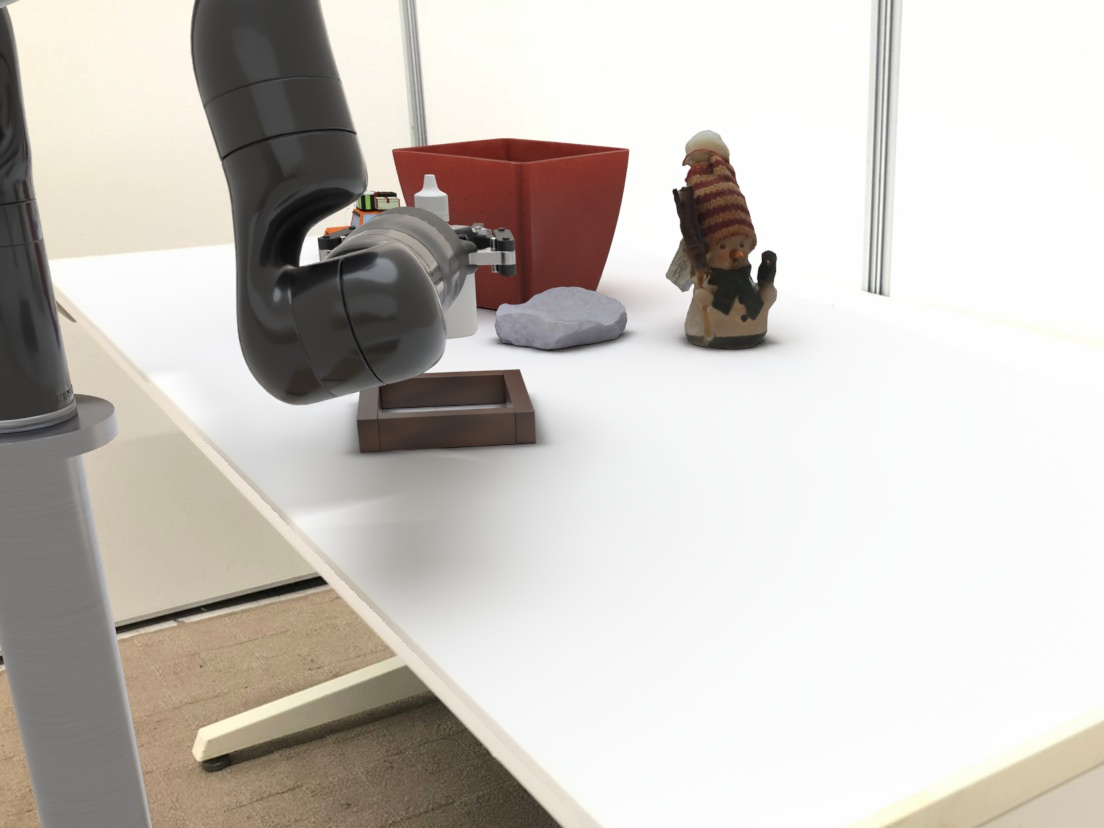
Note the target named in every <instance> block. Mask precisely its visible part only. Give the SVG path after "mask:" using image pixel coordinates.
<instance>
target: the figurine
mask: <svg viewBox="0 0 1104 828" xmlns="http://www.w3.org/2000/svg"><path fill="white" fill-rule="evenodd" d="M684 146H685V148H684V150H685V157H684V158H683V160H682V163H681V167H686V166H688V167H690V168H689V169H688V171H687V173H686V177H685V178H684V180H683V181H684V182H685V185H684V186H681V188H680V189H678V188H677V187H675V188H673V189H672V191H671V192H672V196H673V201H674V203H675V209H676V214H677V217H678V219H679V229H680V233H681V235H682V237H681V240H680V241H679V244H678V248H677V250H676V252H675V254H674V256H673V257H672V260H671V263H670V264H669V267H668V269H667V271H666V273H665V279H666V280H669V282H671V283H672V284H673V285H674V286H676V287H677V288H678V289H679V291H681V293H685V292H689V291H690V288H692V286H693V288H692V289H693V290H692V298H691V301H690V303H689V307H688V309H687V312H686V316H685V322H684V334H685V336H686V338H687V340H688V342H689V343H690V344H692V345H696V346H700V347H706V348H713V349H714V348H715V349H717V348H718V349H727V350H739V349H748V348H751V347H755V346H756V345H758V344H761V342H763V340H764V338H765V336H766V334H767V333H768V322H769V320H768V318H769V312H770V309H771V307H773V306H774V304H775V303H776V302H777V299H778V298H777V297H778V289H777V288H776V286H775V285H774V284H775V278H776V276H777V275H776V274H777V261H778V256H777V253H776V252H774V251H773V250H770V249H767V250H764V251H763V252H761V254H760V255H761V259H760V260H761V262H760V263H759V265H758V268H757V273H756V282H754V279H753V277H752V275H751V273H752V269H753V265H752V264H751V263H750V260H749V255H750V254H751V253H752V252H753V251H754V250H755V249H756V246H758V239H757V233H756V231H755V227H754V224H753V220H752V216H751V213H750V210H749V207H748V203H747V199H746V196H745V195H744V194H743V193H742V191H741V189H740V185H739V183H738V181H737V174H736V171H735V167H734V166H733V165H732V164H731V163H730V162H731V161H730V156H731V153H730V150H729V147H728V146H727V144H726V142H725V141H724V140H723V138H722V136H721V135H720V134H719V133H718V132H715V131H713V130H712V129H711V130H710V129H705V130H700V131H698V132H697V133H696V134H694V135H693V136H692V137H690V138H689V140H688V141H687V142H686V143H685V145H684Z"/></svg>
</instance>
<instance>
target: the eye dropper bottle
mask: <svg viewBox="0 0 1104 828" xmlns="http://www.w3.org/2000/svg"><path fill="white" fill-rule="evenodd" d="M414 199H415V207H416V208H421V209H424V210H427V211H429V212H431V213H433V214H435V215H437V216H439V217H440V218H441V219H443V220H444V221H445V222H448V221H449V210H448V195H447V194H445V193H443V192H441V191H440V190H439V189H438V187H437V184H436V180H435V176H434V175H425V177H424V186H423V189H422V190H421V191H420V192H418V193H416V194H415V195H414ZM447 224H448V223H447ZM448 225H449V224H448ZM449 226H450V225H449ZM477 309H478V308H477V306H476V292H475V275H474V273H473V274H469V275H467V276H466V279H465V282H464V285H463V287H462V289H461V291H460V293H459V295H458V296H457V298H456V299H455V300H454V302H453V303H452V305H451V306H450V307H449V309H448V310H447V311H446V313H445V314H444V315H445V320H446V332H447V337H446V340H453V339H461V338H462V339H463V338H467V337H473V336H474V335H475V334H477V332H478V312H477Z"/></svg>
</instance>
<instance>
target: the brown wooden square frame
mask: <svg viewBox="0 0 1104 828" xmlns="http://www.w3.org/2000/svg"><path fill="white" fill-rule="evenodd" d="M357 403H358V404H357V412H356V428H357V429H356V430H357V439H358V447H359V449H358V450H359V452H360V453H369V452H370V453H371V452H380V451H381V452H388V451H389V452H391V451H408V450H425V449H426V450H427V449H445V448H463V447H481V446H483V447H484V446H499V445H517V444H533V443H534V444H536V443H537V433H536V431H537V429H536V412H535V411H536V410H535V409H534V406H533V403H532V399H531V397H530V393H529V392H528V389H527V385H526V383H525V380H524V377H523V374H522V372H521V369H520V368H514V369H513V368H512V369H511V368H510V369H487V370H469V371H468V370H464V371H462V370H461V371H439V372H424V373H422V374H420V375H418V376H415V377H412V378H410V379H406V380H403V381H399V382H395V383H391V384H386V385H383V386H379V387H375V388H372V389H368V390H364V391H360V392H358V402H357ZM486 404H487V405H488V404H505V407H484V408H465V409H444V410H443V409H441V410H424V411H423V410H421V411H420V410H419V411H402V412H383V409H400V408H401V409H402V408H403V409H405V408H423V407H444V406H445V407H447V406H466V405H467V406H468V405H486Z"/></svg>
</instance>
